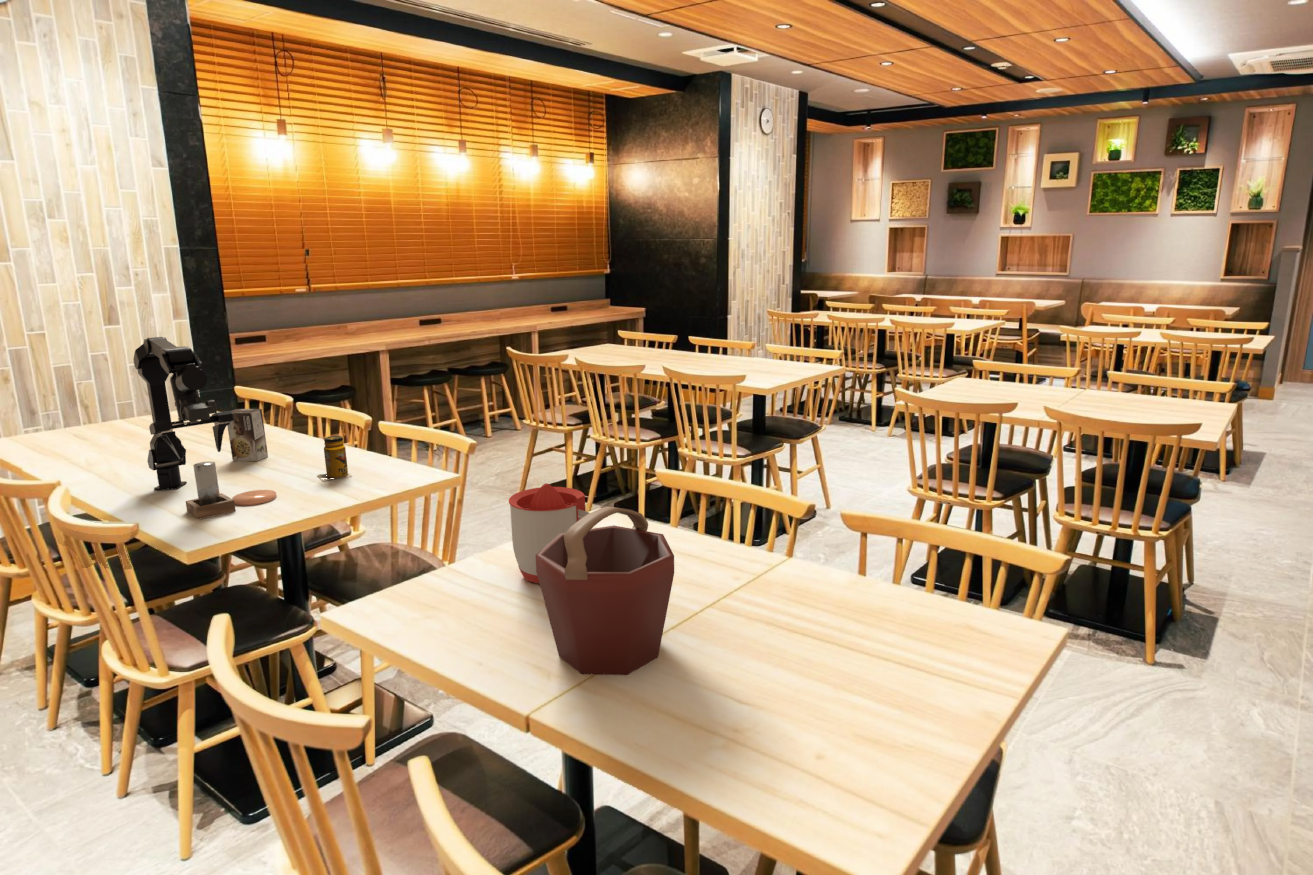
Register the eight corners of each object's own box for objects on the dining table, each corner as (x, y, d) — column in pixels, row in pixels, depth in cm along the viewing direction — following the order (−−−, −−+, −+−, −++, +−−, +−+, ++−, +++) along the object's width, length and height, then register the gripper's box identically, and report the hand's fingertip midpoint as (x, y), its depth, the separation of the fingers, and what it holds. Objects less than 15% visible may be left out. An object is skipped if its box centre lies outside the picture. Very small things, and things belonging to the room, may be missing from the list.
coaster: (242, 493, 233) (241, 490, 233) (282, 492, 234) (282, 489, 233) (225, 506, 222) (225, 502, 222) (267, 504, 223) (267, 501, 223)
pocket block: (187, 511, 218) (185, 501, 217) (223, 503, 224) (221, 493, 224) (198, 519, 212) (197, 508, 211) (235, 510, 218) (234, 500, 217)
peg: (205, 508, 220) (198, 461, 217) (225, 508, 221) (218, 461, 218) (197, 514, 216) (189, 466, 212) (217, 514, 216) (209, 466, 213)
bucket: (600, 703, 126) (594, 548, 120) (508, 657, 140) (499, 517, 134) (701, 644, 143) (700, 506, 137) (610, 608, 158) (606, 482, 152)
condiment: (352, 476, 248) (347, 438, 245) (322, 481, 244) (317, 442, 241) (346, 471, 254) (341, 433, 251) (317, 476, 250) (312, 437, 247)
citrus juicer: (585, 592, 165) (581, 496, 160) (502, 587, 168) (496, 493, 163) (603, 562, 180) (600, 474, 175) (527, 558, 183) (522, 471, 178)
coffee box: (269, 456, 273) (262, 408, 269) (258, 461, 267) (251, 412, 263) (243, 456, 274) (236, 408, 270) (231, 461, 268) (224, 412, 264)
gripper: (153, 396, 201) (167, 459, 201) (234, 386, 213) (247, 445, 214) (142, 402, 209) (156, 463, 210) (221, 392, 222) (234, 449, 222)
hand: (200, 455), depth 214 cm, fingers open, 9 cm apart
